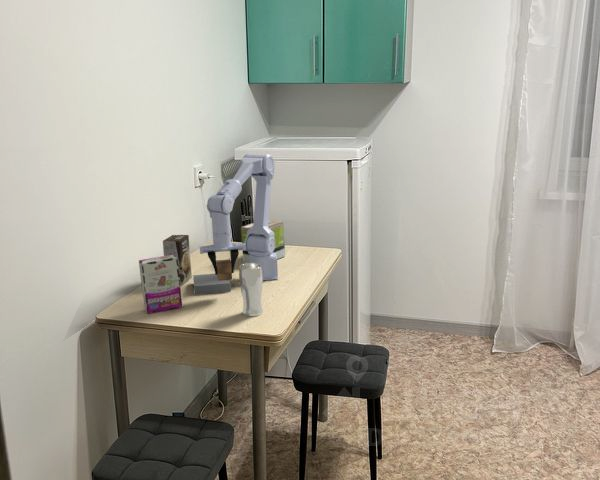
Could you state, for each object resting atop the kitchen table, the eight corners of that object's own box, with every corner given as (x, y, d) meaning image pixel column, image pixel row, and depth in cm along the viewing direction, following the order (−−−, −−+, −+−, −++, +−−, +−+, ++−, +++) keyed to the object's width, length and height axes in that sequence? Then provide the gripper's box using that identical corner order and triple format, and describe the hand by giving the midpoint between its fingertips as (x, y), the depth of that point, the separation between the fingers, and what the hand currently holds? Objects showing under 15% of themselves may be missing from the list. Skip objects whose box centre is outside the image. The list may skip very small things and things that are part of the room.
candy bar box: (178, 302, 189) (173, 253, 185) (182, 307, 185) (178, 257, 180) (143, 309, 184) (138, 259, 180) (147, 314, 180) (141, 263, 176)
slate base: (228, 280, 209) (227, 272, 208) (230, 291, 198) (230, 283, 197) (193, 283, 207) (193, 275, 206) (194, 294, 196) (193, 286, 195)
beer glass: (241, 309, 182) (238, 263, 178) (263, 308, 182) (261, 261, 178) (241, 317, 175) (238, 270, 171) (264, 316, 176) (262, 268, 172)
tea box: (266, 253, 242) (264, 218, 238) (285, 256, 236) (284, 221, 232) (242, 262, 230) (240, 225, 226) (262, 266, 224) (260, 229, 220)
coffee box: (182, 285, 205) (179, 241, 201) (165, 285, 206) (161, 240, 202) (192, 277, 214) (189, 234, 209) (176, 276, 215) (172, 234, 211)
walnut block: (231, 275, 193) (230, 259, 192) (232, 279, 189) (231, 263, 188) (217, 276, 193) (216, 260, 191) (218, 280, 188) (217, 264, 187)
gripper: (199, 237, 182) (202, 278, 185) (245, 233, 185) (247, 274, 188) (198, 231, 189) (201, 271, 192) (243, 228, 191) (245, 268, 195)
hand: (224, 272), depth 191 cm, fingers closed on walnut block, 4 cm apart
